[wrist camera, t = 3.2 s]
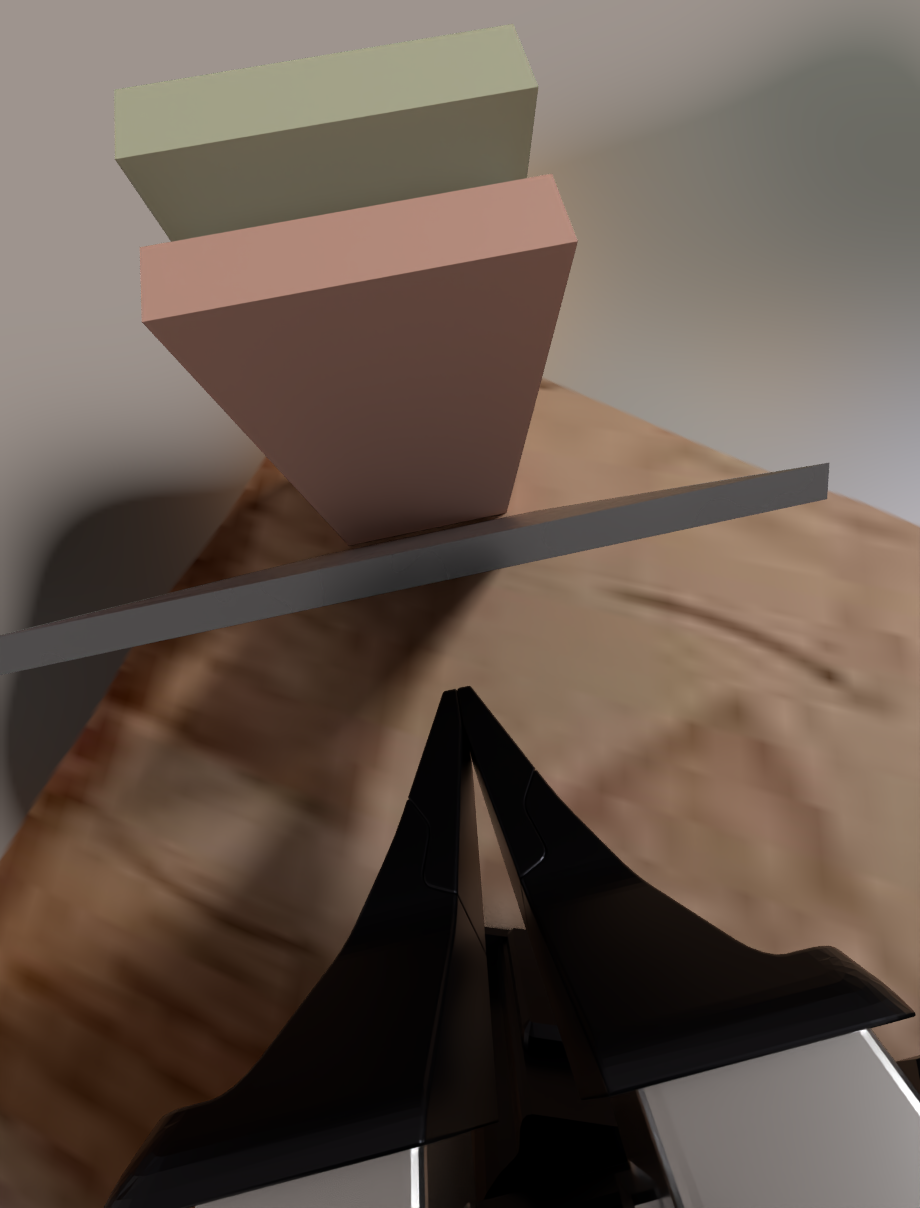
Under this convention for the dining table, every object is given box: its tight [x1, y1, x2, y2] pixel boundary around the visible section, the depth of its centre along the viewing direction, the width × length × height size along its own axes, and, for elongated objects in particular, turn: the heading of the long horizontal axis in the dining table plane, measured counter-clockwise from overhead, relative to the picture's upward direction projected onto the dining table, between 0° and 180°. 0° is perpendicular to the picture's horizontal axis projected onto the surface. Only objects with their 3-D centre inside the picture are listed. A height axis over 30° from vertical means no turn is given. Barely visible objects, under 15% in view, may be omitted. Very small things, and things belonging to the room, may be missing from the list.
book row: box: [114, 24, 578, 545], centre depth 13 cm, size 6×9×12 cm, turn 102°
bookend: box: [0, 463, 829, 675], centre depth 11 cm, size 1×12×14 cm, turn 102°
